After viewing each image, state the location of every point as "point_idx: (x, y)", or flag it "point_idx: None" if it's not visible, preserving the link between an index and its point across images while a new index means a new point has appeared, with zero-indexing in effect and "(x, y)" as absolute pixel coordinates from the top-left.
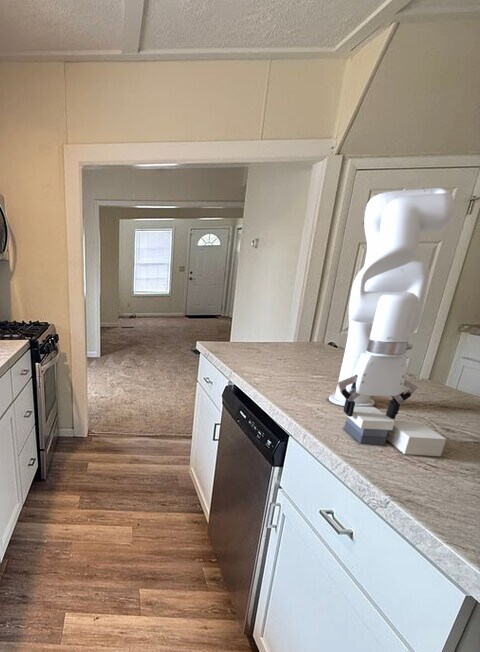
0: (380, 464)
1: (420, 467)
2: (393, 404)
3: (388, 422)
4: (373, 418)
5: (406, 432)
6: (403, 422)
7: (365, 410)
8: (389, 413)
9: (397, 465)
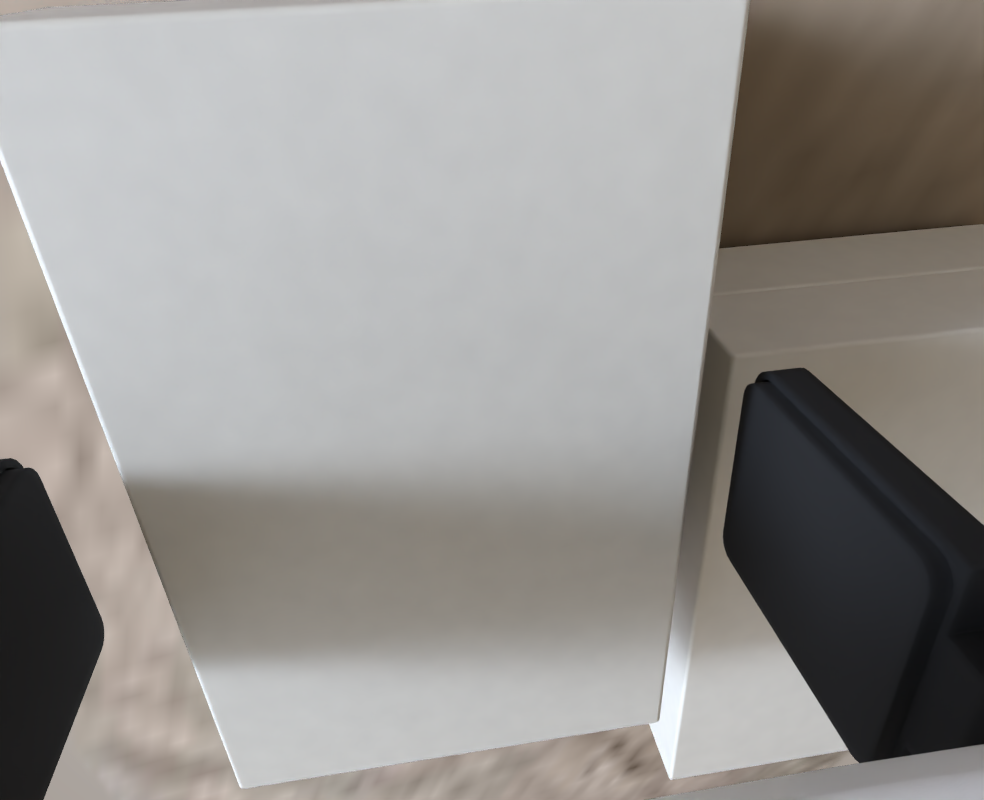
0: (374, 792)
1: (616, 755)
2: (865, 709)
3: (580, 723)
4: (415, 698)
5: (712, 699)
6: (915, 392)
7: (412, 330)
8: (763, 503)
9: (482, 773)
